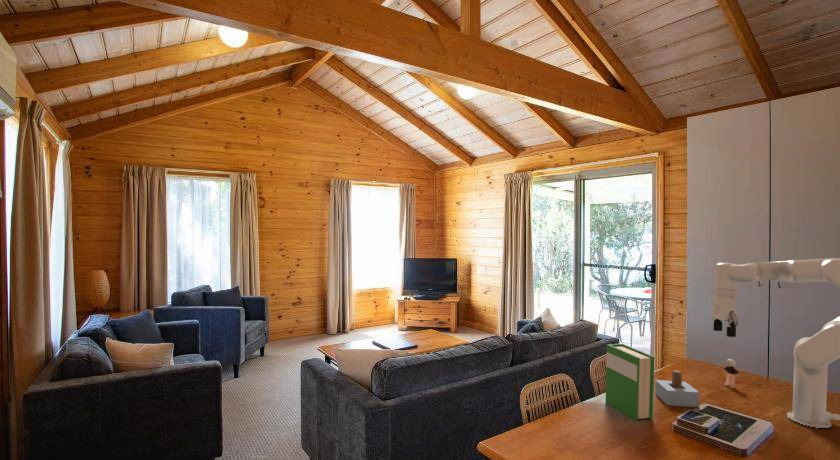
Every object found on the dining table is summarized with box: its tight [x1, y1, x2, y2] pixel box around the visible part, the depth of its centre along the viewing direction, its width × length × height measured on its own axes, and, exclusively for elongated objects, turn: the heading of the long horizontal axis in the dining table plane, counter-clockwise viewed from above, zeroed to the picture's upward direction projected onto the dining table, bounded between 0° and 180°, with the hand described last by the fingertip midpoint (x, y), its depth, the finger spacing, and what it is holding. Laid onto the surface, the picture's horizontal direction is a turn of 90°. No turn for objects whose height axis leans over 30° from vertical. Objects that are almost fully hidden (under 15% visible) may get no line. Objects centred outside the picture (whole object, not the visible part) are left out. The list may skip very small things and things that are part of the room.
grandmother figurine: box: [722, 358, 740, 389], centre depth 202 cm, size 8×4×13 cm, turn 25°
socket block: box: [654, 379, 700, 408], centre depth 186 cm, size 12×12×6 cm
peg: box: [671, 369, 683, 388], centre depth 186 cm, size 4×4×12 cm
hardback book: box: [605, 343, 655, 423], centre depth 175 cm, size 18×7×24 cm, turn 13°
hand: (724, 333), depth 186 cm, fingers open, 9 cm apart
